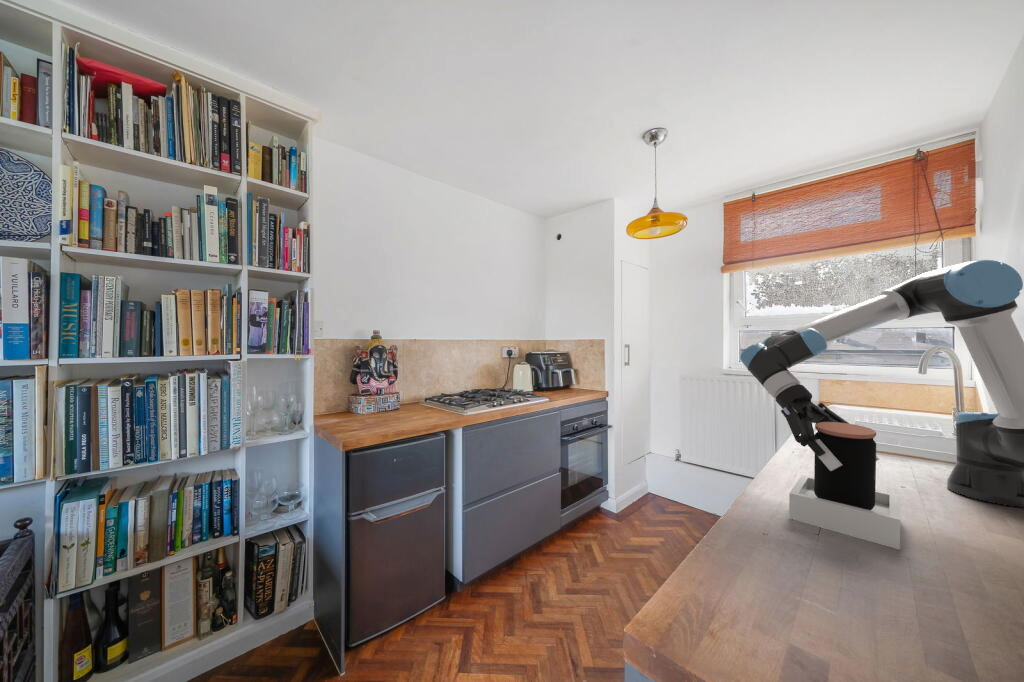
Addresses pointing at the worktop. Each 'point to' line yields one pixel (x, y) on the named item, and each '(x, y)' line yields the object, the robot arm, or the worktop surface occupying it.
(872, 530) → the white square tray
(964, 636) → the worktop surface
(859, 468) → the coffee jar
